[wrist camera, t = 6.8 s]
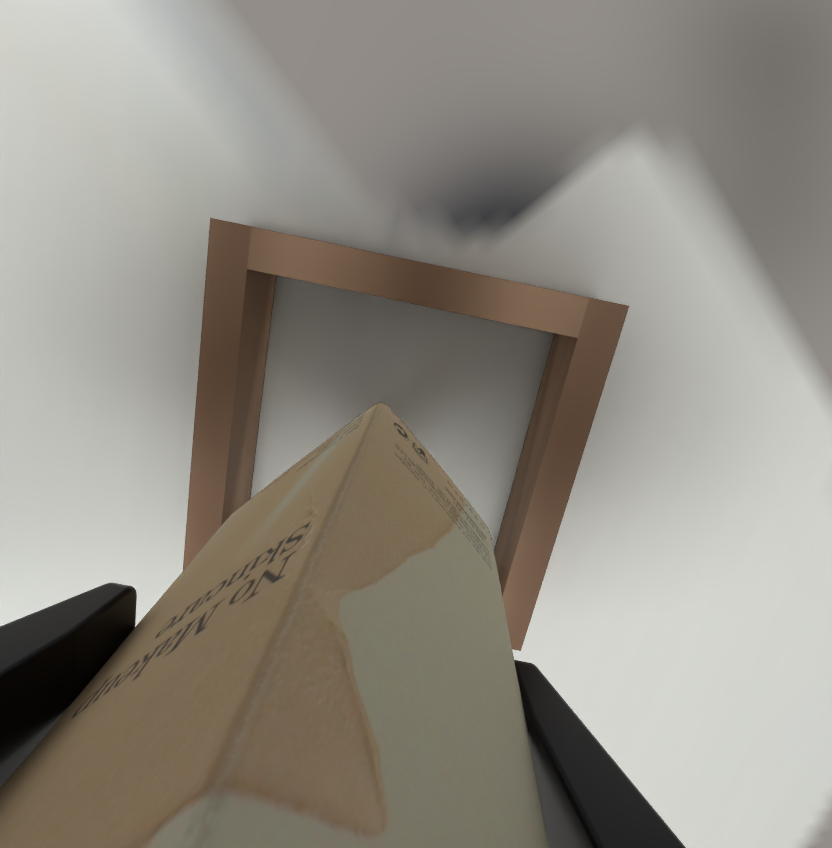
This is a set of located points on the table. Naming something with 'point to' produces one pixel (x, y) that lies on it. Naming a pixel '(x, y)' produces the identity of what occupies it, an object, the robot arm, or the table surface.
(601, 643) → the table surface
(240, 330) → the brown square frame
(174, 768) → the box
